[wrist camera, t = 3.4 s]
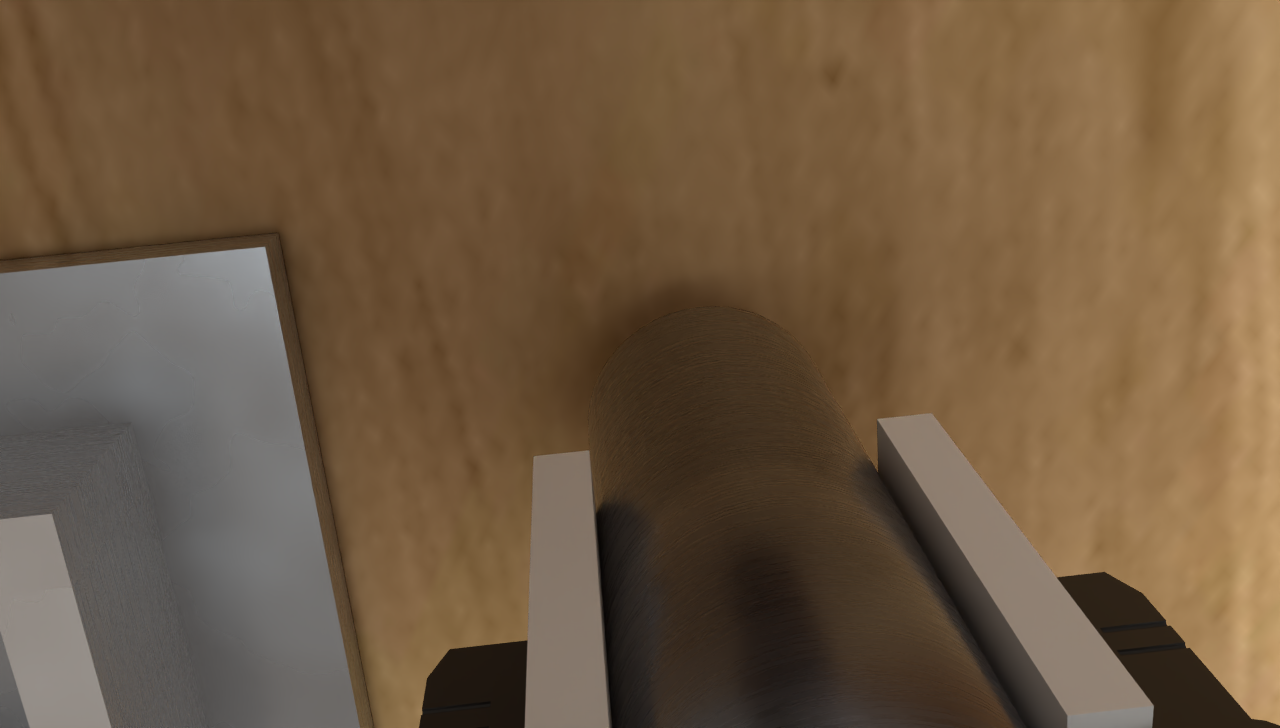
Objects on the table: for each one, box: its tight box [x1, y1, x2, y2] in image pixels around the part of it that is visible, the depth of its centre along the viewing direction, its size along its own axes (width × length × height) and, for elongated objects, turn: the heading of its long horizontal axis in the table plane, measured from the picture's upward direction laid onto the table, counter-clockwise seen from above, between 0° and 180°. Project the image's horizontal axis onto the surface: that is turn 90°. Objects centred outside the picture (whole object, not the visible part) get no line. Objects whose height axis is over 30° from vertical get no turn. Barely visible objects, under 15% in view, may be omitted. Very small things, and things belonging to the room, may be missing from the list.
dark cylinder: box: [588, 306, 1027, 728], centre depth 13 cm, size 4×4×15 cm
